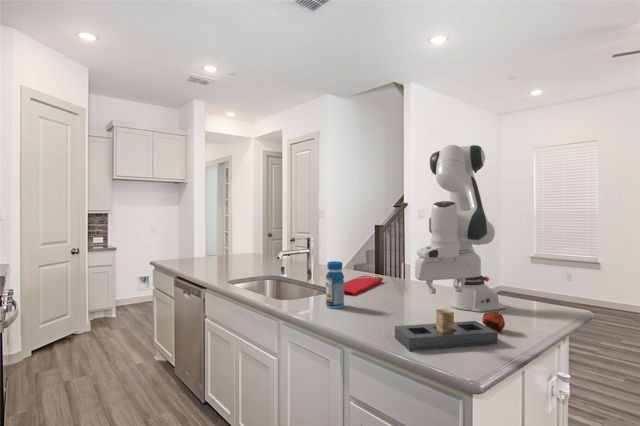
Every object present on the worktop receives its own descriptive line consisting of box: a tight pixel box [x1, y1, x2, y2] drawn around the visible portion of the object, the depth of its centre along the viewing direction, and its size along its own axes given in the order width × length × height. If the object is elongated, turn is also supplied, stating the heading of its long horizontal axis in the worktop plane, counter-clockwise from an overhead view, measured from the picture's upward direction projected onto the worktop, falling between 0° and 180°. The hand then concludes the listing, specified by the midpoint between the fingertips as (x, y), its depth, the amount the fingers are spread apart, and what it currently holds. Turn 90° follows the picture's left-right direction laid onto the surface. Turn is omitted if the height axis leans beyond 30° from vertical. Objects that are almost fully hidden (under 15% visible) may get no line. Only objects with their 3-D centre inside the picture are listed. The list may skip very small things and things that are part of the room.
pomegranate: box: [481, 310, 506, 333], centre depth 130 cm, size 7×7×10 cm
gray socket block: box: [394, 320, 499, 352], centre depth 120 cm, size 30×12×4 cm, turn 100°
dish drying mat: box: [344, 275, 384, 297], centre depth 206 cm, size 16×41×4 cm, turn 149°
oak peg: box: [435, 308, 455, 332], centre depth 120 cm, size 4×4×10 cm
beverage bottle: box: [325, 261, 345, 309], centre depth 165 cm, size 8×8×20 cm
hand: (445, 292), depth 120 cm, fingers open, 8 cm apart
